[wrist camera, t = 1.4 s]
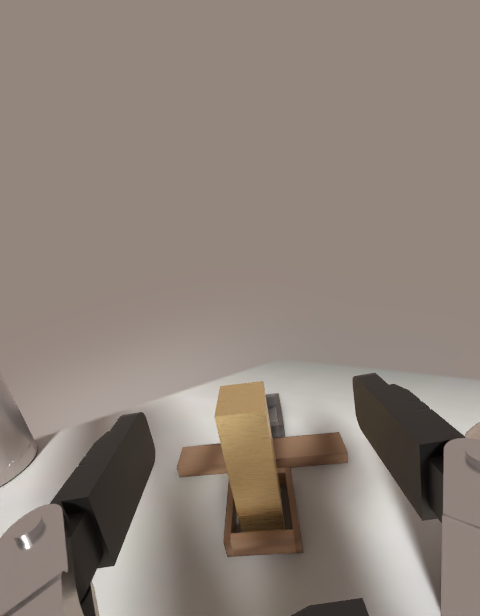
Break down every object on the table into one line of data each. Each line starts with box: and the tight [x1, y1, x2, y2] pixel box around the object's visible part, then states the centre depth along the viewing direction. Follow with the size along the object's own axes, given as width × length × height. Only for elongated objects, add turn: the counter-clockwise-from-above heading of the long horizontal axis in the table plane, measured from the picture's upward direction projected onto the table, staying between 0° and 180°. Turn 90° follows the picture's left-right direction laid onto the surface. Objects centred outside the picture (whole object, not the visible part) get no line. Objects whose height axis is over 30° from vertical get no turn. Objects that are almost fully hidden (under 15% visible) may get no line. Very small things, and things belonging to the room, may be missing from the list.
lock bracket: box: [177, 393, 348, 557], centre depth 32 cm, size 20×20×2 cm
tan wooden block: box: [215, 381, 285, 533], centre depth 24 cm, size 4×4×14 cm
